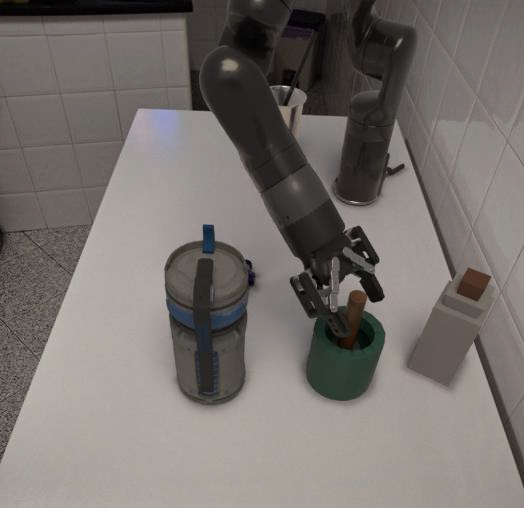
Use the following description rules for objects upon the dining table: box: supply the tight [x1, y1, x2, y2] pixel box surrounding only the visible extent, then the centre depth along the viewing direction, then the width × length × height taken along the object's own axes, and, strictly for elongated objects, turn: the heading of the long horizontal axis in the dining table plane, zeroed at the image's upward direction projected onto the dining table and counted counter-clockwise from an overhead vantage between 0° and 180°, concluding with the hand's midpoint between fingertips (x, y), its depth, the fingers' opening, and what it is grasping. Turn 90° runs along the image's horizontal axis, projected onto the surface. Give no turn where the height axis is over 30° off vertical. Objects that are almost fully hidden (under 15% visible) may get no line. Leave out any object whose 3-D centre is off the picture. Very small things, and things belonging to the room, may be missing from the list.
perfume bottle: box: [407, 267, 496, 387], centre depth 75 cm, size 7×7×18 cm
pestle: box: [331, 289, 368, 351], centre depth 72 cm, size 4×4×16 cm
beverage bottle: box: [163, 223, 250, 405], centre depth 67 cm, size 10×13×25 cm
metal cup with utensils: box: [269, 27, 319, 140], centre depth 107 cm, size 11×11×30 cm
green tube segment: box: [305, 305, 386, 402], centre depth 75 cm, size 10×10×10 cm
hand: (362, 317), depth 68 cm, fingers open, 8 cm apart
